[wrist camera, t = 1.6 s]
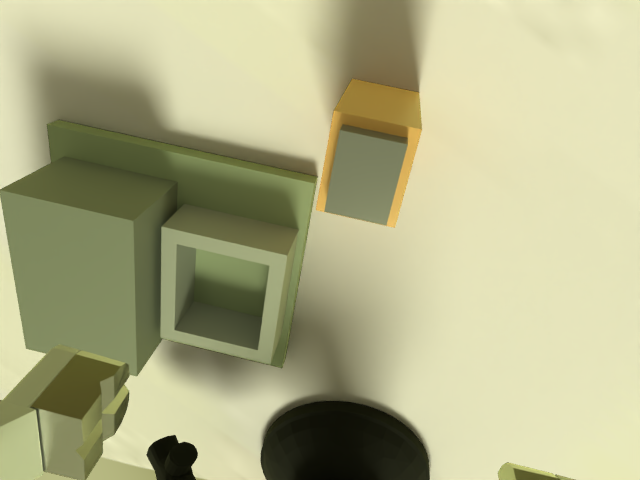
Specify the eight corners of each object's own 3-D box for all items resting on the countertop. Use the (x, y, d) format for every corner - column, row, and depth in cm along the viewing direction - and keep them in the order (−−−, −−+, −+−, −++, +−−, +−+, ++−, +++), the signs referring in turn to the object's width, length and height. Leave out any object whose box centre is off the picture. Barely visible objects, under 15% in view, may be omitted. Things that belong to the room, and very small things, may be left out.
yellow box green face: (419, 92, 29) (422, 135, 21) (398, 171, 31) (394, 237, 23) (352, 78, 29) (330, 116, 21) (336, 158, 31) (312, 218, 24)
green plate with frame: (317, 176, 32) (295, 225, 26) (285, 357, 40) (262, 428, 34) (58, 119, 33) (-24, 153, 27) (76, 306, 41) (16, 366, 35)
